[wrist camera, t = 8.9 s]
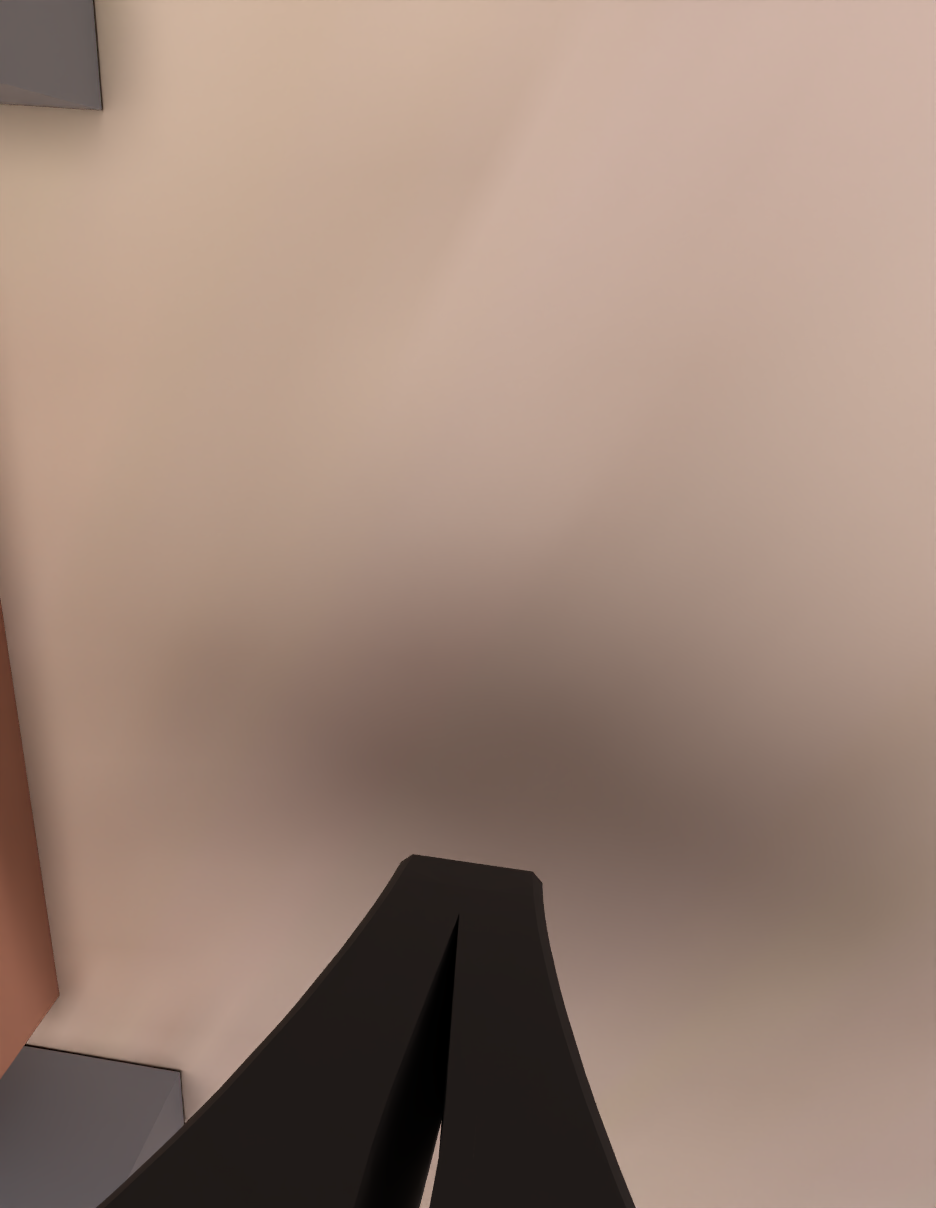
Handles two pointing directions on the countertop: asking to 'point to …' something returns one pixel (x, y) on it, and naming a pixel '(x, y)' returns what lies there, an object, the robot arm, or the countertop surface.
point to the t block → (19, 890)
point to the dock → (36, 1076)
